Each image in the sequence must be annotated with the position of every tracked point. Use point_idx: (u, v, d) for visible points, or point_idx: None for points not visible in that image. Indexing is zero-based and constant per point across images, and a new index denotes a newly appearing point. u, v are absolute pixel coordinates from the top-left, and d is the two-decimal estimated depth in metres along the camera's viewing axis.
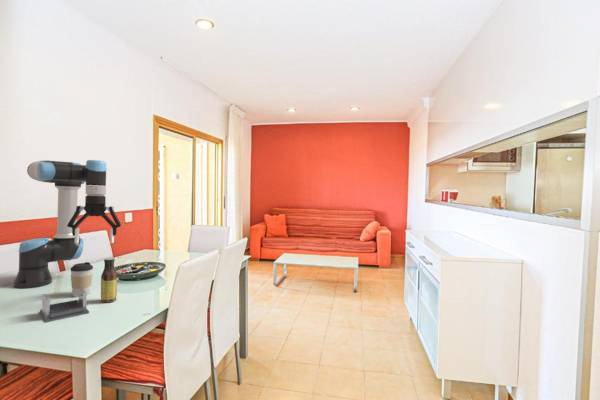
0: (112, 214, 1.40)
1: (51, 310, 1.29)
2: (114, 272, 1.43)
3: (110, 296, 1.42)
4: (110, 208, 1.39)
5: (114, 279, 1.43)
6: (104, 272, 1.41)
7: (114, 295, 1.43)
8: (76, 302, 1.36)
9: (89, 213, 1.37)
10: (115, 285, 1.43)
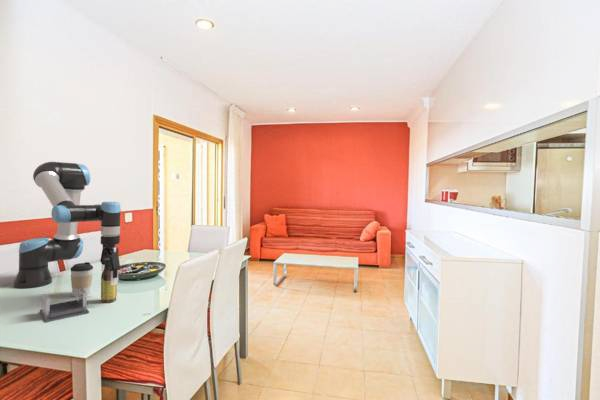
0: (112, 256, 1.38)
1: (51, 310, 1.29)
2: None
3: (110, 296, 1.42)
4: (111, 249, 1.38)
5: None
6: (104, 272, 1.41)
7: (114, 295, 1.43)
8: (76, 302, 1.36)
9: (105, 252, 1.43)
10: (115, 285, 1.43)
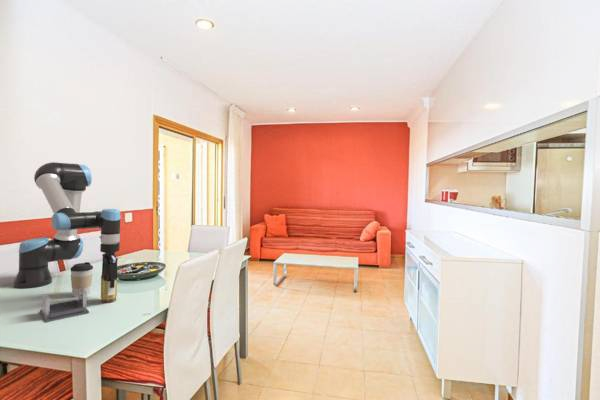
0: (110, 266, 1.39)
1: (51, 310, 1.29)
2: None
3: (110, 296, 1.42)
4: (110, 260, 1.38)
5: None
6: (104, 272, 1.41)
7: (114, 295, 1.43)
8: (76, 302, 1.36)
9: None
10: (115, 285, 1.43)
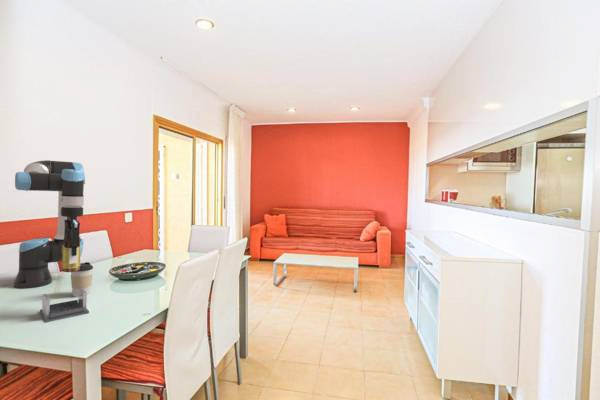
0: (71, 231, 1.25)
1: (51, 310, 1.29)
2: None
3: (72, 266, 1.28)
4: (72, 224, 1.25)
5: None
6: (65, 238, 1.28)
7: (77, 264, 1.30)
8: (76, 302, 1.36)
9: None
10: (78, 253, 1.30)
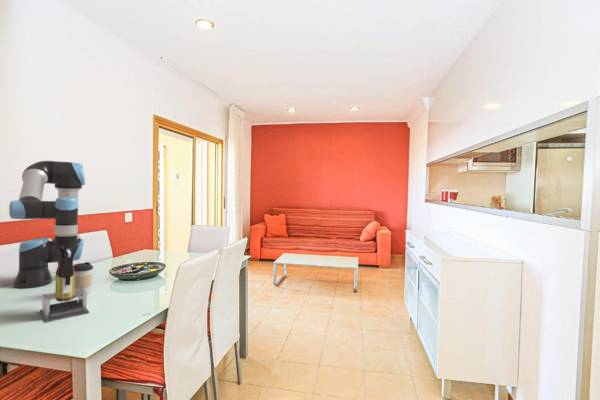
0: (65, 261, 1.24)
1: (51, 310, 1.29)
2: None
3: (66, 295, 1.27)
4: (65, 254, 1.24)
5: None
6: (59, 268, 1.26)
7: (71, 293, 1.29)
8: (76, 302, 1.36)
9: None
10: (72, 282, 1.29)
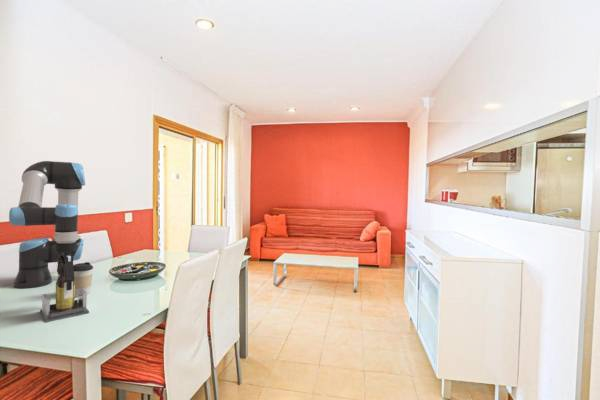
0: (65, 266, 1.23)
1: (51, 310, 1.29)
2: None
3: (66, 305, 1.27)
4: (65, 258, 1.24)
5: None
6: (59, 278, 1.27)
7: (71, 304, 1.29)
8: (76, 302, 1.36)
9: (60, 260, 1.29)
10: None
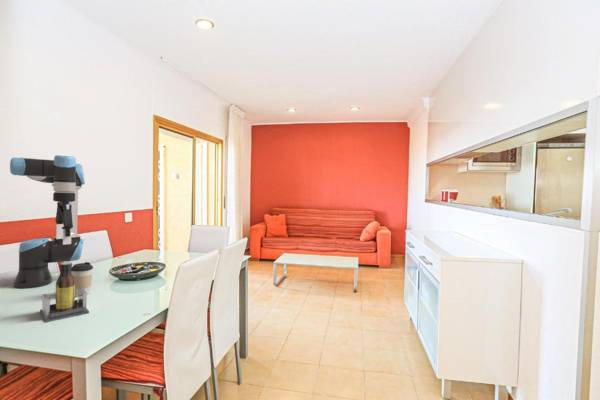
0: (64, 213, 1.28)
1: (51, 310, 1.29)
2: (71, 278, 1.28)
3: (66, 305, 1.27)
4: (63, 206, 1.28)
5: (71, 286, 1.28)
6: (59, 278, 1.27)
7: (71, 304, 1.29)
8: (76, 302, 1.36)
9: (59, 210, 1.34)
10: (72, 293, 1.29)
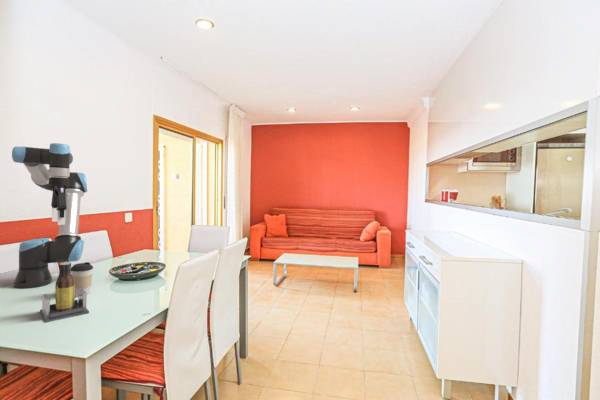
0: (58, 196, 1.39)
1: (51, 310, 1.29)
2: (70, 278, 1.28)
3: (66, 306, 1.27)
4: (58, 189, 1.39)
5: (71, 286, 1.28)
6: (59, 278, 1.26)
7: (71, 304, 1.29)
8: (76, 302, 1.36)
9: (54, 194, 1.45)
10: (72, 293, 1.29)
